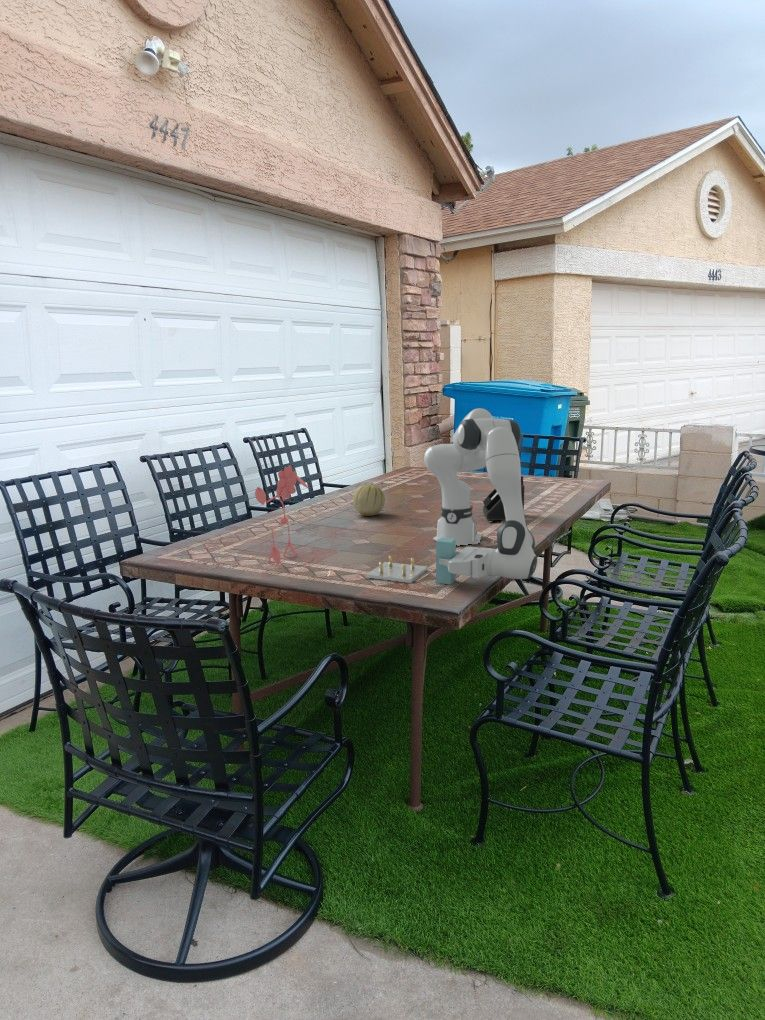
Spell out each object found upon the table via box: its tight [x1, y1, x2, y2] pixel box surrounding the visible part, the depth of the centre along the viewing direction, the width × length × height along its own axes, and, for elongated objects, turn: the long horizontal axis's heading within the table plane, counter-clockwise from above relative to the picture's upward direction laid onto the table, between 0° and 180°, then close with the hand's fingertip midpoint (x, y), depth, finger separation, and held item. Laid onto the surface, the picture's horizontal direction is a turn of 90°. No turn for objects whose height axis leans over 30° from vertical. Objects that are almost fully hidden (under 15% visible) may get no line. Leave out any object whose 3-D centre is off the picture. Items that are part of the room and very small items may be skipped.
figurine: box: [254, 464, 314, 567], centre depth 261 cm, size 15×26×35 cm, turn 151°
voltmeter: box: [482, 475, 525, 522], centre depth 324 cm, size 16×16×20 cm
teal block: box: [435, 538, 457, 585], centre depth 238 cm, size 5×5×14 cm
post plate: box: [365, 555, 428, 584], centre depth 248 cm, size 16×16×5 cm
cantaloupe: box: [352, 482, 386, 517], centre depth 335 cm, size 15×15×15 cm
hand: (443, 557), depth 238 cm, fingers open, 7 cm apart
